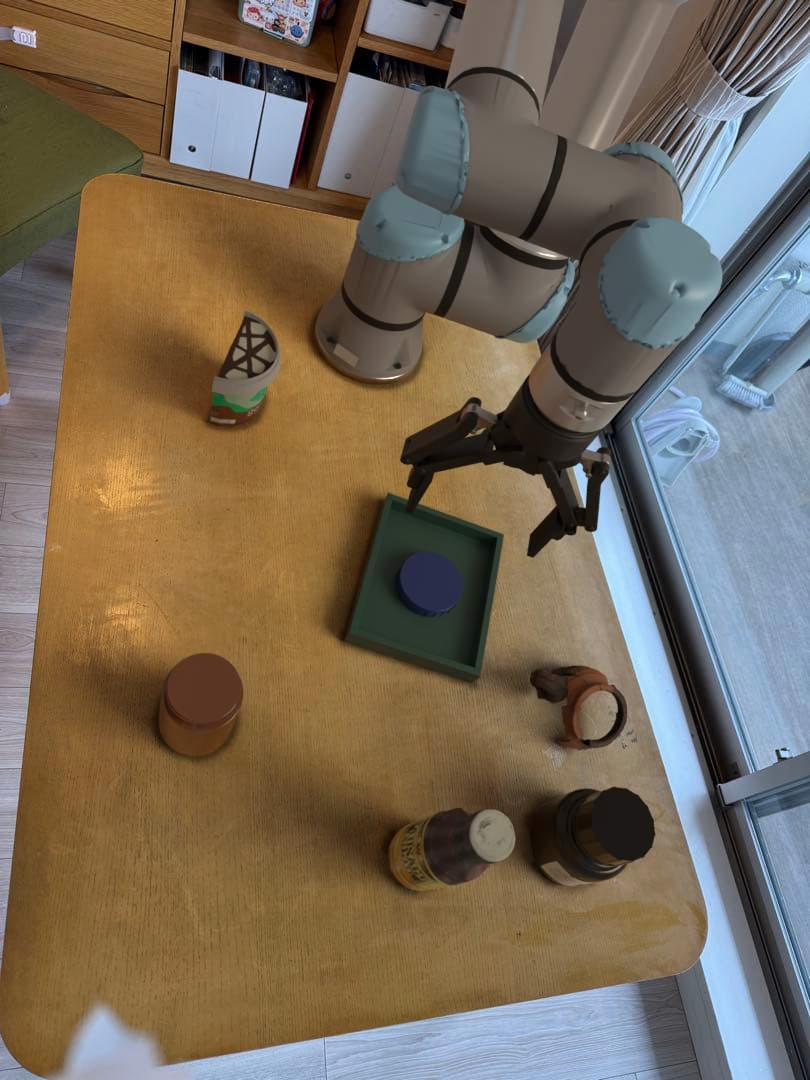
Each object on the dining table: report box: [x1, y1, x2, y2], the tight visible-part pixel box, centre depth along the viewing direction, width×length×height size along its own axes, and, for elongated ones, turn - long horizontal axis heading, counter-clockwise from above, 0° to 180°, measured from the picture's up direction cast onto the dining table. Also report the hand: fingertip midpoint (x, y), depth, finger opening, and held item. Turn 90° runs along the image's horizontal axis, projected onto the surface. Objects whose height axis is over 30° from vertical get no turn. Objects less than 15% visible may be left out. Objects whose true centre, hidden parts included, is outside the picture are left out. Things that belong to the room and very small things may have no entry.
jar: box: [158, 652, 244, 757], centre depth 73 cm, size 7×7×11 cm
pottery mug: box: [528, 664, 628, 751], centre depth 88 cm, size 12×10×8 cm
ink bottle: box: [528, 786, 656, 888], centre depth 78 cm, size 10×9×12 cm
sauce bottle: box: [386, 807, 516, 892], centre depth 69 cm, size 6×6×20 cm
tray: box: [343, 492, 505, 684], centre depth 92 cm, size 20×16×3 cm
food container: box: [209, 309, 282, 428], centre depth 94 cm, size 12×6×10 cm, turn 168°
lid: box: [395, 551, 463, 618], centre depth 91 cm, size 8×8×2 cm
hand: (471, 524), depth 80 cm, fingers open, 13 cm apart
